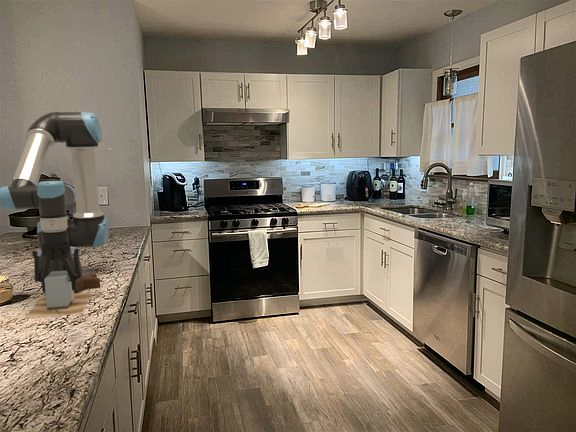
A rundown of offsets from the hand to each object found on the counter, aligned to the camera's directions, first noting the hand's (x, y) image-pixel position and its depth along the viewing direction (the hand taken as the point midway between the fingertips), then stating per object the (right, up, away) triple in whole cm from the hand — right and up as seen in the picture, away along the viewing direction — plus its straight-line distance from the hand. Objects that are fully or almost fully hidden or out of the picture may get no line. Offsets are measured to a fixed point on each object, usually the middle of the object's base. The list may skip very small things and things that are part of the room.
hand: (60, 300), depth 147 cm
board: (0, -2, 0) cm, 2 cm away
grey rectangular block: (0, -1, 0) cm, 1 cm away
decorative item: (-3, 0, +20) cm, 20 cm away
